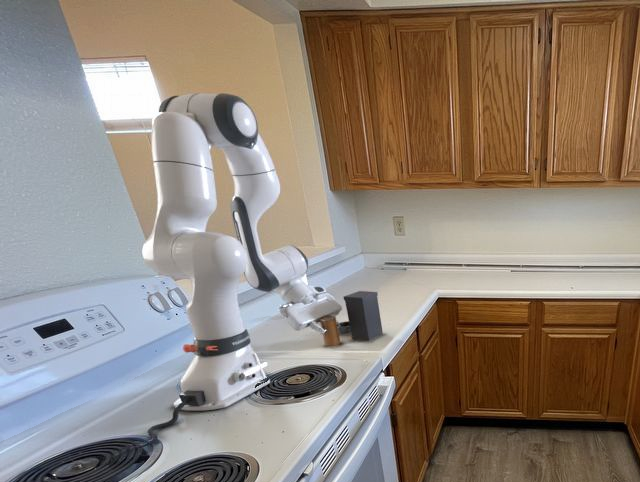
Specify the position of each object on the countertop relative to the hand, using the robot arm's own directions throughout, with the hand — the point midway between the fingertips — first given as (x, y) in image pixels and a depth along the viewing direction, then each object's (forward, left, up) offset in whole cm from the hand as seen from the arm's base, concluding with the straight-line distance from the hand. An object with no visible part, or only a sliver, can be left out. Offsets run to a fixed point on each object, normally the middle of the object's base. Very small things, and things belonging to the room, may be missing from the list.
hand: (331, 329), depth 136 cm
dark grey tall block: (+8, -8, -5) cm, 13 cm away
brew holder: (+14, +2, -5) cm, 15 cm away
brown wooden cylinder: (0, +1, -5) cm, 5 cm away
